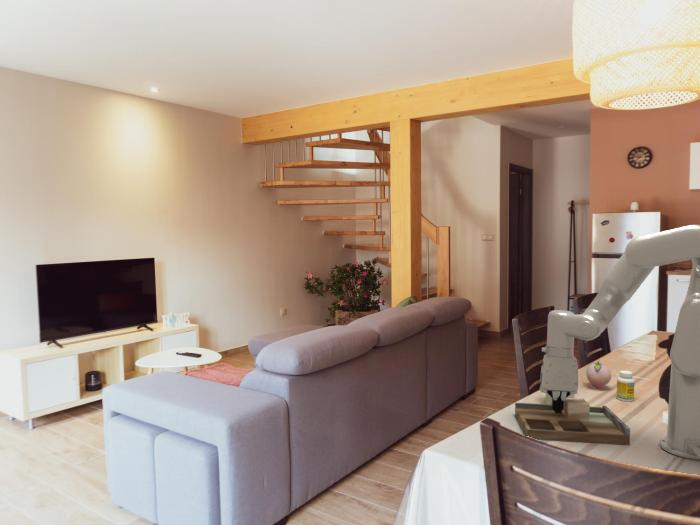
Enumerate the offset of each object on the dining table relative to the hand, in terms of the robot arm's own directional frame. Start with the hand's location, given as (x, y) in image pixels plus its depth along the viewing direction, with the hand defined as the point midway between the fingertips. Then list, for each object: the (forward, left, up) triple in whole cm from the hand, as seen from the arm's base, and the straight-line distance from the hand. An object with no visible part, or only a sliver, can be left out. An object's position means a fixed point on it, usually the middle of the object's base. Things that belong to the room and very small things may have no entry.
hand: (557, 411), depth 161 cm
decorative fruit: (+40, -25, -4) cm, 47 cm away
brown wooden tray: (-4, -2, -4) cm, 6 cm away
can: (+19, -6, -4) cm, 20 cm away
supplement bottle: (+28, -30, -4) cm, 41 cm away
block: (0, -5, -1) cm, 6 cm away
